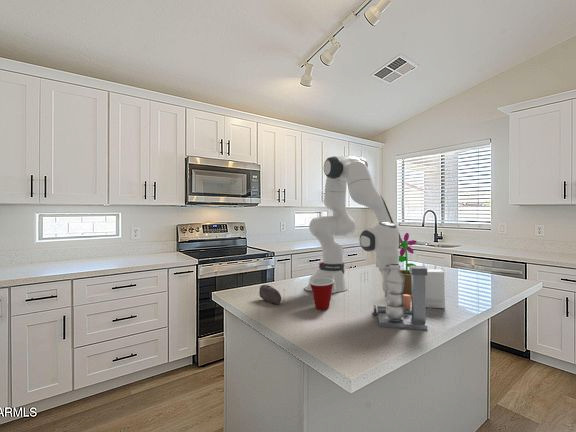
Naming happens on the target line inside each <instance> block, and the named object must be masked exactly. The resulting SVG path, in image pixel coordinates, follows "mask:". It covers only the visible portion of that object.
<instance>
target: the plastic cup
mask: <svg viewBox="0 0 576 432" xmlns="http://www.w3.org/2000/svg"><path fill="white" fill-rule="evenodd" d="M309 283H310V285H311V288H312V291H311V292H312V297H313V300H314V301H313V302H314V307H315V309H317V310H322V311H323V310H324V311H325V310H329V308H330V304H331V300H332V299H331V298H332V293H331V292H332V286H333V283H334V280H333V279H330V278H316V279H312V280H310V281H309V280H308V284H309Z"/></svg>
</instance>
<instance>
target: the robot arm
mask: <svg viewBox="0 0 576 432" xmlns="http://www.w3.org/2000/svg"><path fill="white" fill-rule="evenodd" d="M323 173H324V175H325V176H326V180H325V185H324V186H325V187H324V195H323V197H324V198H323V204H324V206H325V207H326V208H327V209H329V210H330V211H332V215H329V216H328V215H326V216H325V215H322V216H317V217H314V218H312V219H311V220H310V222H309V224H308V225H309V227H308V228H309V229H308V230H309V232H310V234H311V235H312V236H313V237H315V238H316V239H317V241H318V242H319V244H320V246H321V252H322V253H321V254H322V261H319V262H318V268H319V269H318V270H316V271H315V272H314V273H312V274H311V275H310V277H309V279H308V283H306V284H305V285H304V290H305V291H308V292H309V291H310V292H312V288H311V285H310V283H309V281H310V280H312V279H316V278H330V279H333V280H334V283H333V286H332V292H331V294H335V293H340V292H345V291H347V290H348V288H347V283H346V277H345V271H346V264H345V261H344V259H345V258H344V248H343V246H342V245H341V244H339V243H337V242H335V239H334V237H347V236H349V235H353V234H354V233H355V232H356V230H357V229H356V228H357V224H356V223H357V222H356V220H355V219H354V218H353V217H352V216H351V215H350V214H349V212H348V209H347V205H346V204H347V203H346V202H347V201H346V200H347V198H346V197H347V190H348V194H349V196H350V198H351V199H352V201H353V202H355V203H356V204H359V205H361V206H363V207H366V208H368V209H370V210H371V211H373V213H374V215H375V216H376V219H377V221H378V223H377V224H376V225H375V226H373V227H371V228H368V229H365V230H363V231H361V233H360V235H359V245H360V247H361V249H362V250H364V251H366V252H370V253H373V252H375V267H376V268H378V272H380V273H381V274H380V275H381V284H382V291H383V292H384V298H386V299H387V298H388V292H387V283H386V277H387V275H388V274H389V272H390V264H400V262H399V256H400V252H399V248H398V247H399V245H401V239H402V237H401V236H402V235H401V234H400V231H399V229H398V225H397V224H395V223H394V221H393V218H392V216H391V213H390V211H389V209H388V206H387V204H386V201H385V199H384V198H383V196H382V195H381V194H379V192H378V190H377V189H376V187H375V185H374V181H373V177H372V175H371V172H370V170H369V165H368V161H367V160H366V159H365V158H364V157H361V156H351V155H344V156H335V155H334V156H330V157H327V158H326V159H325V161H324V163H323ZM347 188H348V189H347Z"/></svg>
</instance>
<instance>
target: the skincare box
mask: <svg viewBox="0 0 576 432" xmlns="http://www.w3.org/2000/svg"><path fill="white" fill-rule="evenodd" d="M445 293H446V291H445V272H444V271H443V269H442V268H441V269H439V268H438V269H435V268H433V269H432V268H427V276H426V275H425V308H433V309H436V308H437V309H445V308H446V301H445V300H446V297H445V295H446V294H445Z"/></svg>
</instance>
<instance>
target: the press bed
mask: <svg viewBox="0 0 576 432" xmlns="http://www.w3.org/2000/svg"><path fill="white" fill-rule="evenodd" d="M427 269H428V268H427V267H426V266H425V265H416V266H409V267H408V270H409V272H410V273H411V295H410V296H411V308H412V315H411V314H404V317H403V318H402V319H391V318H389V317H388V316H387V315H386V313H379V312H378V313H377V317H378V318H377V319H378V327H380V328H382V327H383V328H393V329H394V328H395V329H405V330H406V329H407V330H408V329H409V330H422V331H428V324H427V323H426V322H427V321H426V320H427V319H426V314H427V313H426V310H427V309H426V307H425V275H426V276H427Z"/></svg>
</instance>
